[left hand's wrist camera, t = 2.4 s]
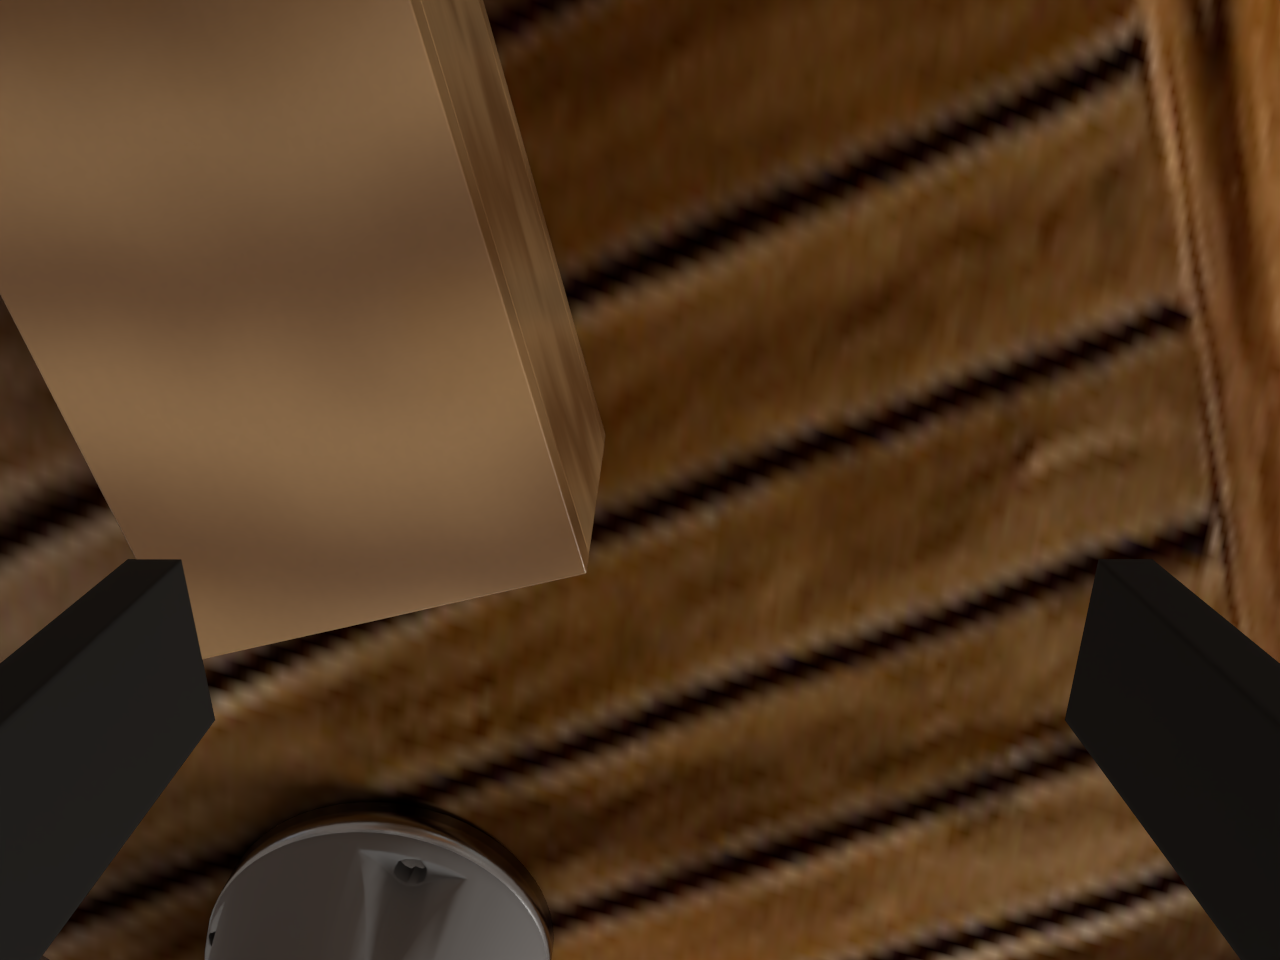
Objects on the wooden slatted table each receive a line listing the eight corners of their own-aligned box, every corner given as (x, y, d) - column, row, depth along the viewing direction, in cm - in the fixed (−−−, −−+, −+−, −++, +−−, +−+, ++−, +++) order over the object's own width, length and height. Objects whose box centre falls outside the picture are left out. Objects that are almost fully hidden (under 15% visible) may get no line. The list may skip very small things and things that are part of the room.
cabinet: (97, -53, 27) (-239, -168, 16) (438, -160, 25) (302, -352, 15) (327, 503, 33) (188, 662, 23) (606, 436, 32) (587, 573, 22)
